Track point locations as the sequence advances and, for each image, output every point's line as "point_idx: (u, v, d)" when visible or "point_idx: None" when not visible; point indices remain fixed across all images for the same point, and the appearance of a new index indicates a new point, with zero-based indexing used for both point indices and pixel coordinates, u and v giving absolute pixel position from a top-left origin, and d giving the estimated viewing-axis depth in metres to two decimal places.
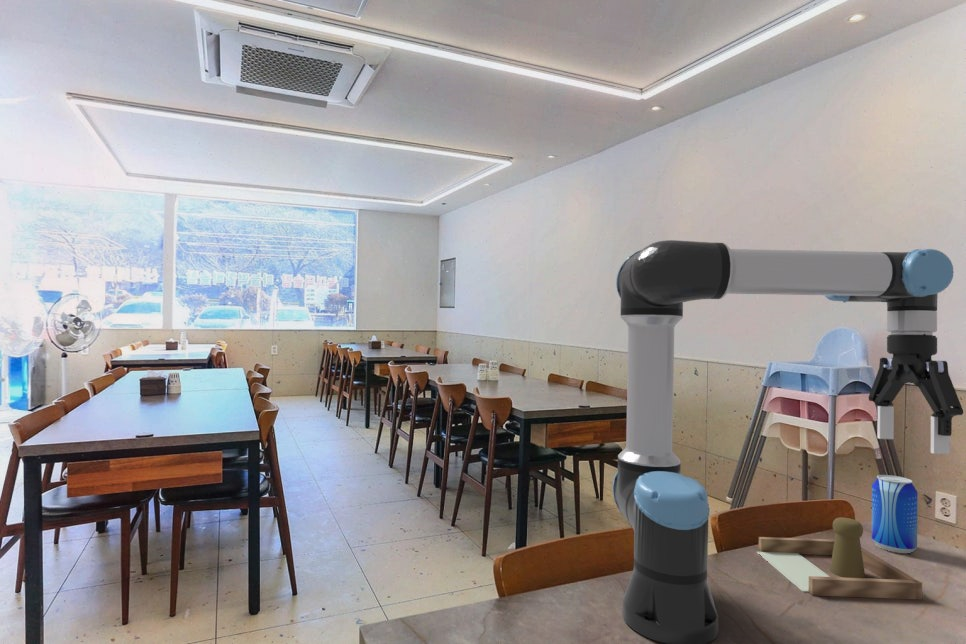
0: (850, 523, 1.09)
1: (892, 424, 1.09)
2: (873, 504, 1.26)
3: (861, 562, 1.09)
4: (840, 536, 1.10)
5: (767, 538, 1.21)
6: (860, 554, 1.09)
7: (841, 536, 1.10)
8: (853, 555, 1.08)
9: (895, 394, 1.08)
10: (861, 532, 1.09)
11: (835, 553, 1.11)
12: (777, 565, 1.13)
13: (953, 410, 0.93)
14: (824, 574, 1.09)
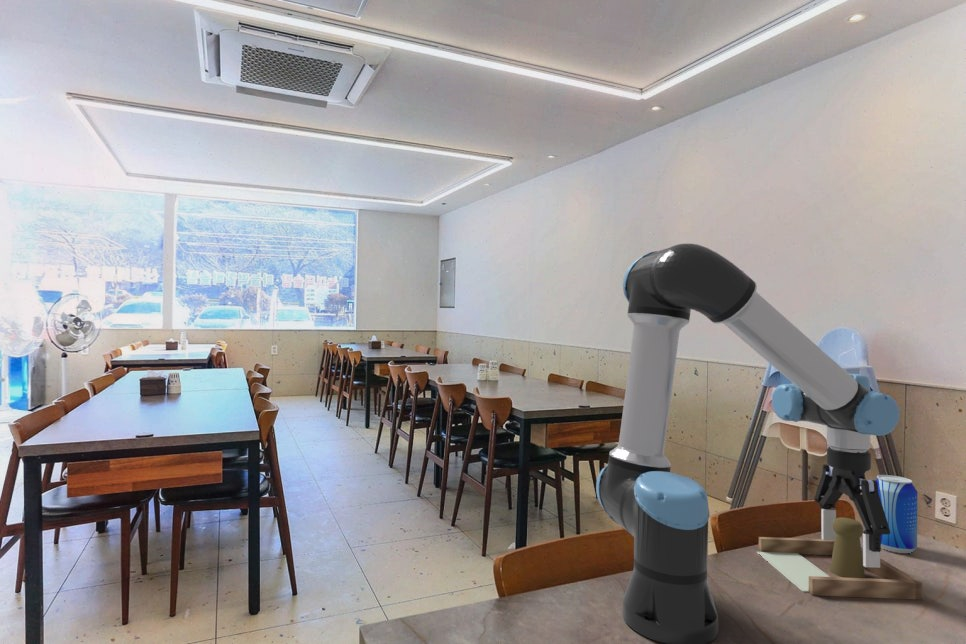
0: (850, 523, 1.09)
1: None
2: None
3: (861, 562, 1.09)
4: (840, 536, 1.10)
5: (767, 538, 1.21)
6: (860, 554, 1.09)
7: (841, 536, 1.10)
8: (853, 555, 1.08)
9: (836, 499, 1.16)
10: (861, 532, 1.09)
11: (835, 553, 1.11)
12: (777, 565, 1.13)
13: (881, 530, 1.01)
14: (824, 574, 1.09)
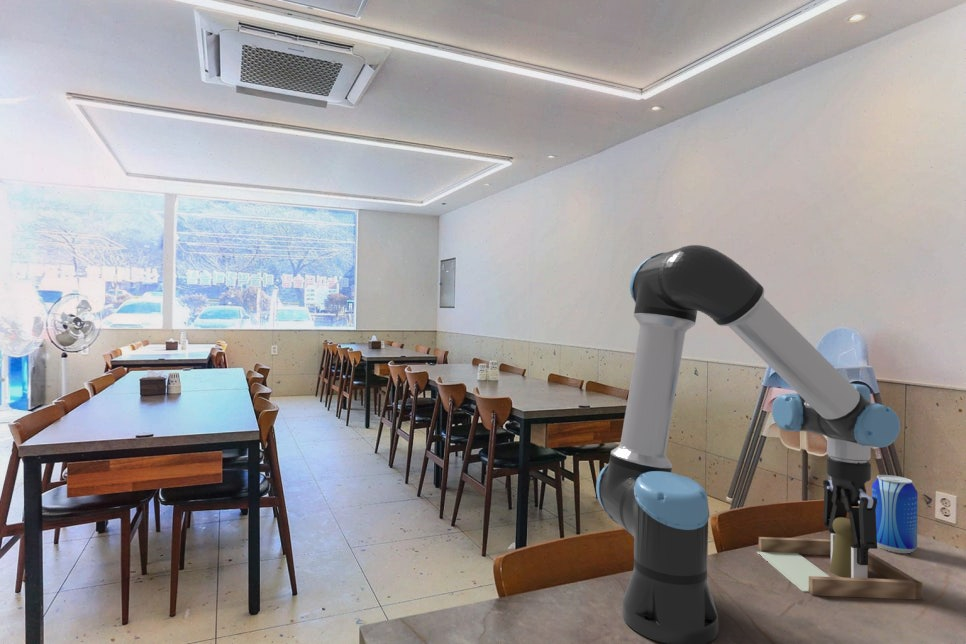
0: (850, 523, 1.09)
1: None
2: None
3: None
4: (840, 535, 1.10)
5: (767, 538, 1.21)
6: None
7: (841, 536, 1.10)
8: None
9: None
10: None
11: (835, 553, 1.11)
12: (777, 565, 1.13)
13: (868, 546, 1.04)
14: (824, 574, 1.09)
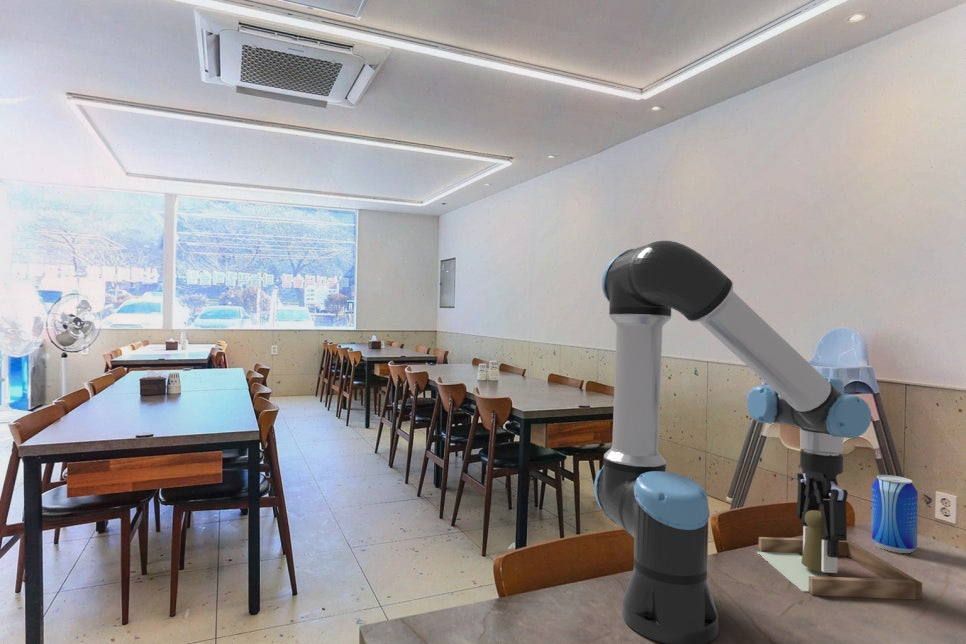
0: None
1: None
2: (873, 504, 1.26)
3: None
4: (811, 528, 1.10)
5: (767, 538, 1.21)
6: None
7: (812, 528, 1.10)
8: None
9: None
10: None
11: (806, 545, 1.11)
12: (777, 565, 1.13)
13: (838, 538, 1.04)
14: (824, 574, 1.09)
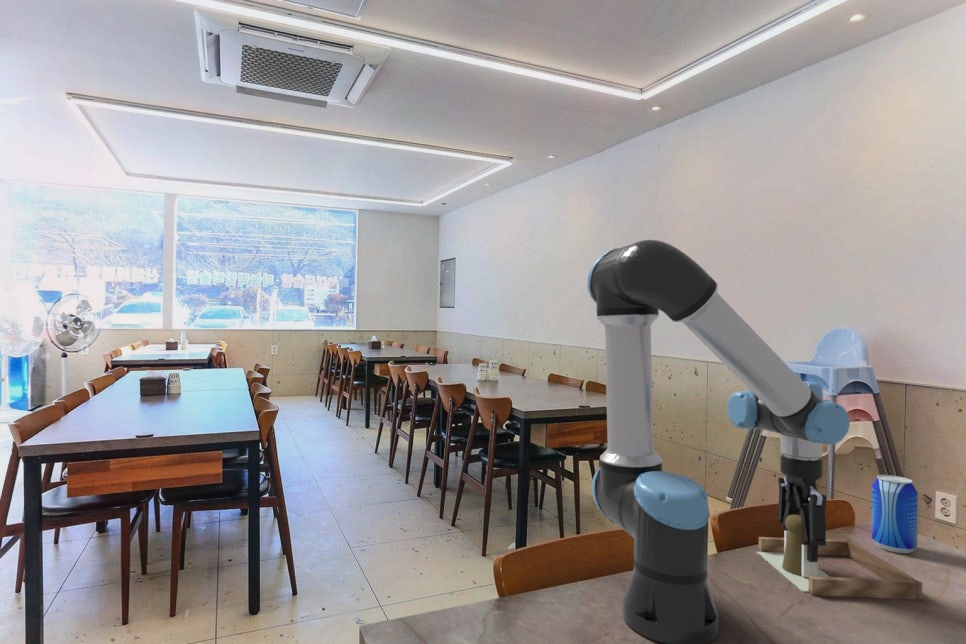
0: None
1: None
2: (873, 504, 1.26)
3: None
4: (791, 533, 1.11)
5: (767, 538, 1.21)
6: None
7: (792, 533, 1.10)
8: None
9: None
10: None
11: (787, 550, 1.11)
12: (777, 565, 1.13)
13: (817, 543, 1.05)
14: (824, 574, 1.09)
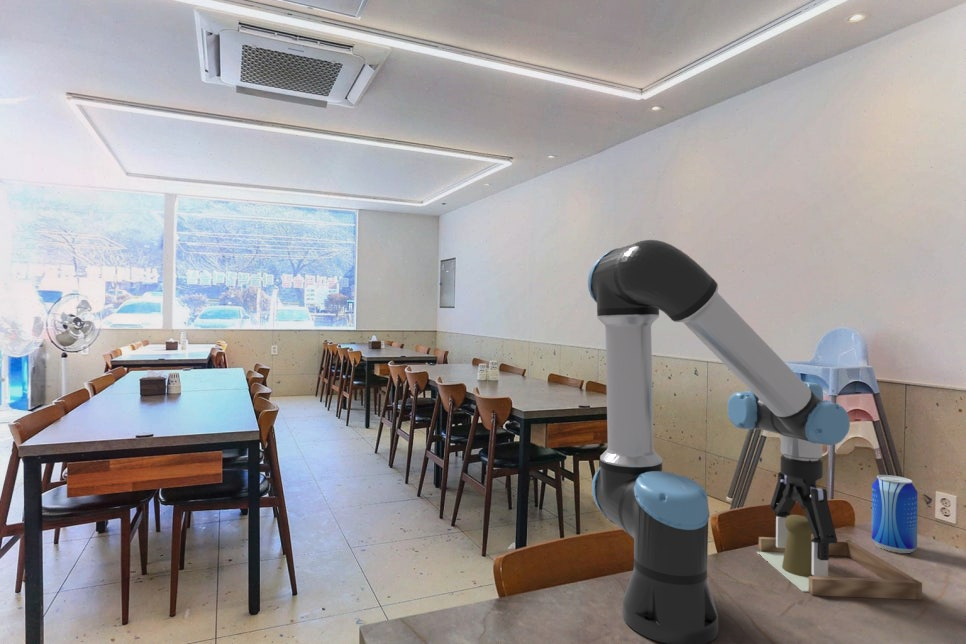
0: (801, 520, 1.10)
1: None
2: (873, 504, 1.26)
3: None
4: (791, 533, 1.11)
5: (767, 538, 1.21)
6: (811, 551, 1.09)
7: (792, 533, 1.10)
8: (803, 552, 1.09)
9: (791, 507, 1.17)
10: None
11: (786, 550, 1.11)
12: (777, 565, 1.13)
13: (828, 539, 1.01)
14: None
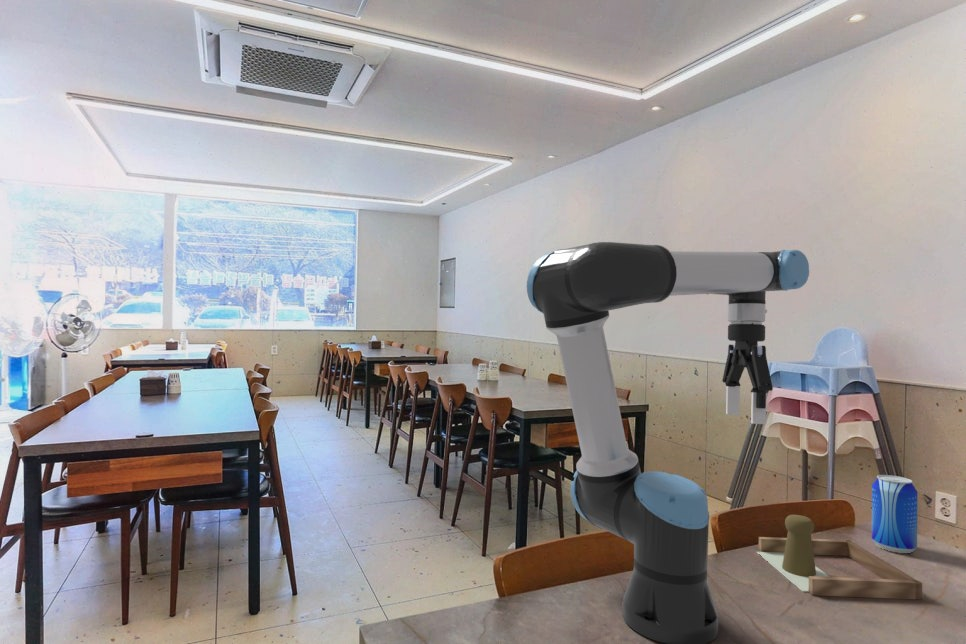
0: (801, 520, 1.10)
1: (738, 402, 1.27)
2: (873, 504, 1.26)
3: (812, 559, 1.09)
4: (791, 533, 1.11)
5: (767, 538, 1.21)
6: (811, 551, 1.09)
7: (792, 533, 1.10)
8: (803, 552, 1.09)
9: (739, 376, 1.26)
10: (812, 529, 1.09)
11: (786, 550, 1.11)
12: (777, 565, 1.13)
13: (764, 386, 1.10)
14: (824, 574, 1.09)
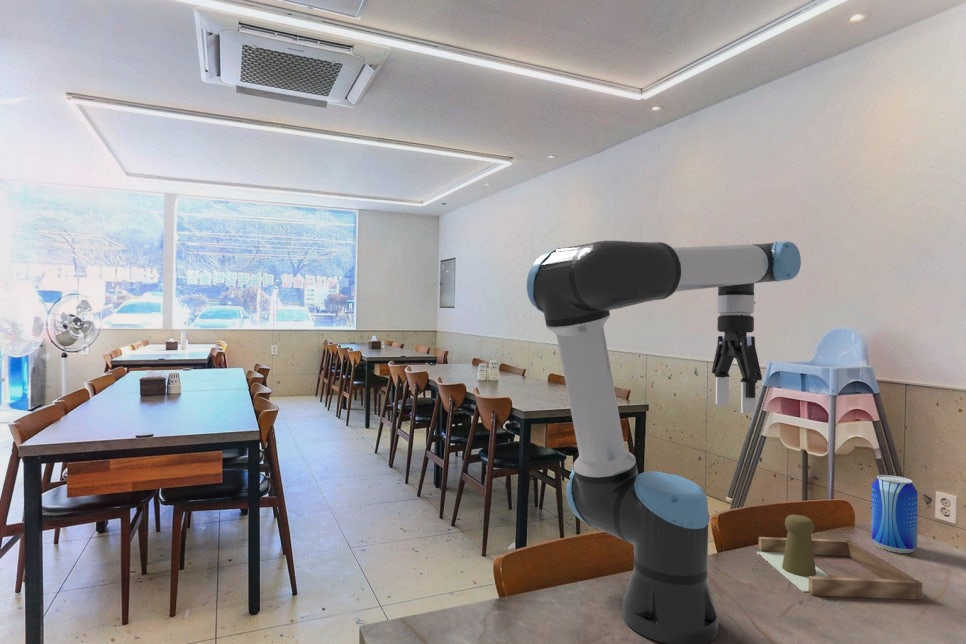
0: (801, 520, 1.10)
1: (727, 392, 1.29)
2: (873, 504, 1.26)
3: (812, 559, 1.09)
4: (791, 533, 1.11)
5: (767, 538, 1.21)
6: (811, 551, 1.09)
7: (792, 533, 1.10)
8: (803, 552, 1.09)
9: (728, 367, 1.28)
10: (812, 529, 1.09)
11: (786, 550, 1.11)
12: (777, 565, 1.13)
13: (753, 376, 1.12)
14: (824, 574, 1.09)
